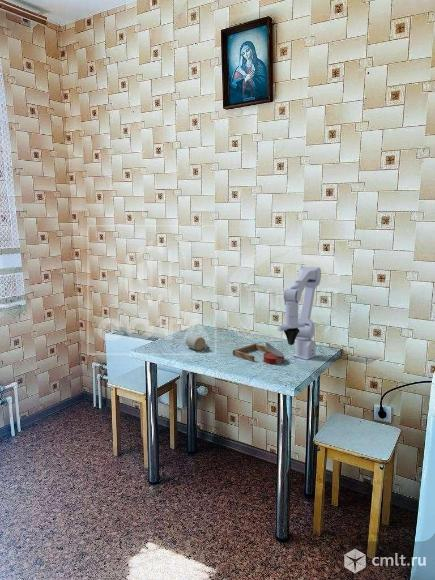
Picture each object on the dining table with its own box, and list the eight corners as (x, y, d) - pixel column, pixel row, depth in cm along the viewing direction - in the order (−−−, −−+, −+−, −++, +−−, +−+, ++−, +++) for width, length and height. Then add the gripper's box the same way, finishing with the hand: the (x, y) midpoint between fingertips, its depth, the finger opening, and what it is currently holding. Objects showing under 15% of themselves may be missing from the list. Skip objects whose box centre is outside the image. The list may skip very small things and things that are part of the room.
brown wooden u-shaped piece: (274, 353, 219) (275, 349, 218) (252, 361, 208) (252, 356, 207) (255, 348, 228) (255, 343, 228) (232, 355, 217) (232, 350, 217)
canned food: (270, 366, 215) (276, 347, 217) (286, 370, 207) (291, 349, 209) (255, 360, 208) (261, 340, 210) (270, 363, 200) (276, 342, 202)
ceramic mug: (195, 352, 222) (195, 337, 221) (185, 348, 228) (185, 334, 227) (211, 348, 229) (211, 334, 227) (201, 344, 235) (201, 330, 234)
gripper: (298, 311, 204) (297, 339, 207) (273, 315, 197) (272, 344, 199) (308, 314, 198) (307, 343, 201) (283, 318, 191) (282, 348, 193)
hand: (291, 344), depth 200 cm, fingers closed
